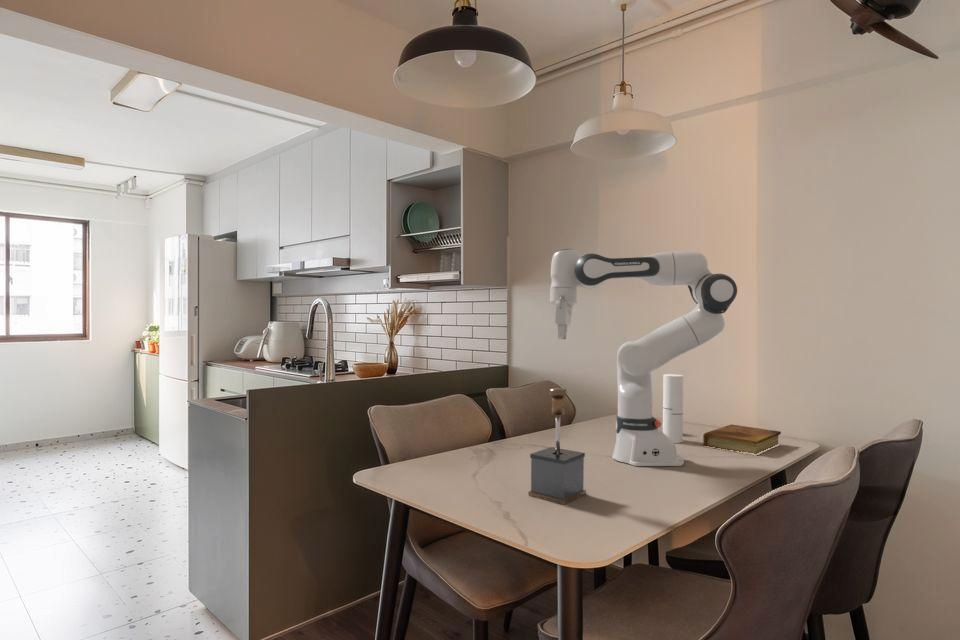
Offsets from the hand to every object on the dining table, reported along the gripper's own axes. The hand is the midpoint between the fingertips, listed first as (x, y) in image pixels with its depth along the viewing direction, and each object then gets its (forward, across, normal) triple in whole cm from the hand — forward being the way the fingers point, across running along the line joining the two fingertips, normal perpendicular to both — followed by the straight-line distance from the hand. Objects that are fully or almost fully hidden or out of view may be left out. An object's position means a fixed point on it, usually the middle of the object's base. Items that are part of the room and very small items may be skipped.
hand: (562, 338), depth 190 cm
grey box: (+42, -36, -3) cm, 56 cm away
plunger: (+33, -37, -3) cm, 50 cm away
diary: (+37, +36, -64) cm, 82 cm away
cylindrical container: (+37, +38, -39) cm, 66 cm away
